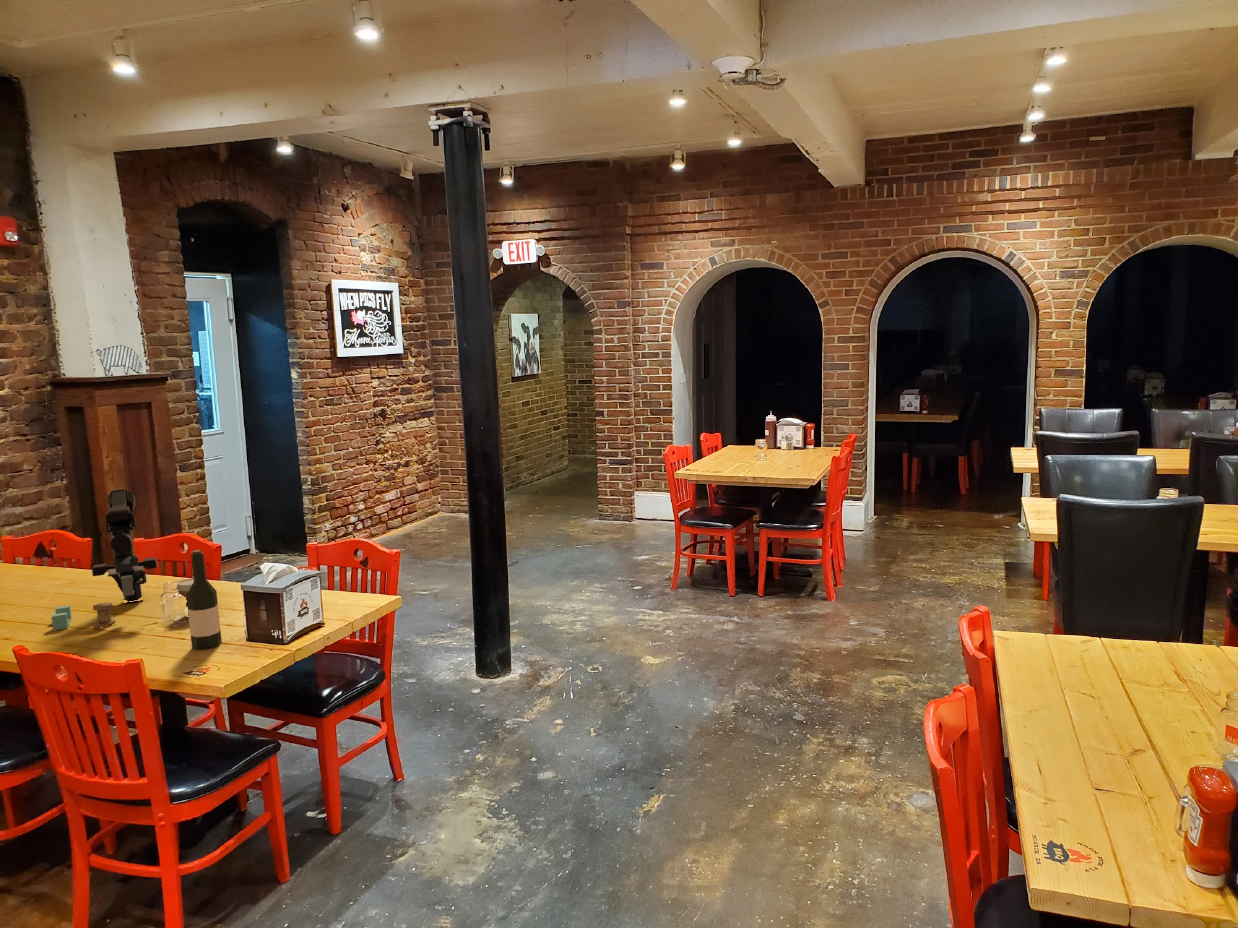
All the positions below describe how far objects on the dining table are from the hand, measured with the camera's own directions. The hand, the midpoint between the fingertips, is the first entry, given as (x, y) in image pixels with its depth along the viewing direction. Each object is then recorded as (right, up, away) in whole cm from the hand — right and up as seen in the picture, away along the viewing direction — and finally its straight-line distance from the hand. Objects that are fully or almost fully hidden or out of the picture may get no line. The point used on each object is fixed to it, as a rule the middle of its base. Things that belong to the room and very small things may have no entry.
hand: (128, 591), depth 282 cm
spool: (-6, -11, -2) cm, 13 cm away
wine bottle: (+39, -13, -25) cm, 48 cm away
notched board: (-22, -11, 0) cm, 25 cm away
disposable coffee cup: (+20, -9, +6) cm, 23 cm away
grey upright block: (0, -1, 0) cm, 1 cm away
